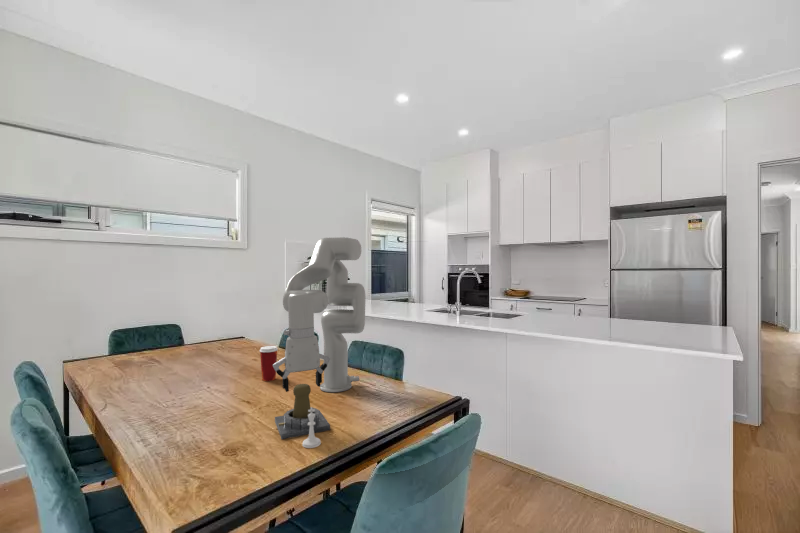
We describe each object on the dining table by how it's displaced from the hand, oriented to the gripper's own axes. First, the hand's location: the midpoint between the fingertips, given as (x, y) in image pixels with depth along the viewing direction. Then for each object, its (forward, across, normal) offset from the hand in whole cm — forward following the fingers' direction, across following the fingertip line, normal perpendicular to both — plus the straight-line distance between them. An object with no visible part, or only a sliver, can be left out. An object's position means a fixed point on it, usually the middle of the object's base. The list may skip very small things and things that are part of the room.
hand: (302, 387), depth 118 cm
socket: (+11, -1, -1) cm, 11 cm away
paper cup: (+13, -4, +56) cm, 58 cm away
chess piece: (+11, -1, -15) cm, 18 cm away
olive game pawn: (+10, 0, -1) cm, 10 cm away
